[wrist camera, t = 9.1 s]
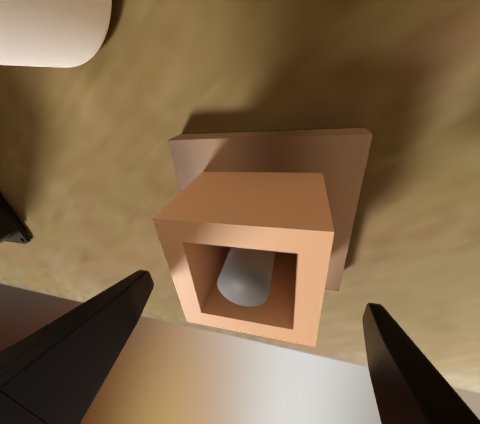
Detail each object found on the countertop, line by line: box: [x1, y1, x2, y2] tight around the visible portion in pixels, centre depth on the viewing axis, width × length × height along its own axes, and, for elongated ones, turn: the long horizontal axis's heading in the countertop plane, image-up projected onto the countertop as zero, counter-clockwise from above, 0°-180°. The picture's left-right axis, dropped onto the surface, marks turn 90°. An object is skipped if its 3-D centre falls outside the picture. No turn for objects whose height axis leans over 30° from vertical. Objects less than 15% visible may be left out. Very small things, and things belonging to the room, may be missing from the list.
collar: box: [153, 172, 334, 347], centre depth 11 cm, size 6×6×5 cm
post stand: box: [168, 128, 373, 307], centre depth 12 cm, size 10×10×6 cm
